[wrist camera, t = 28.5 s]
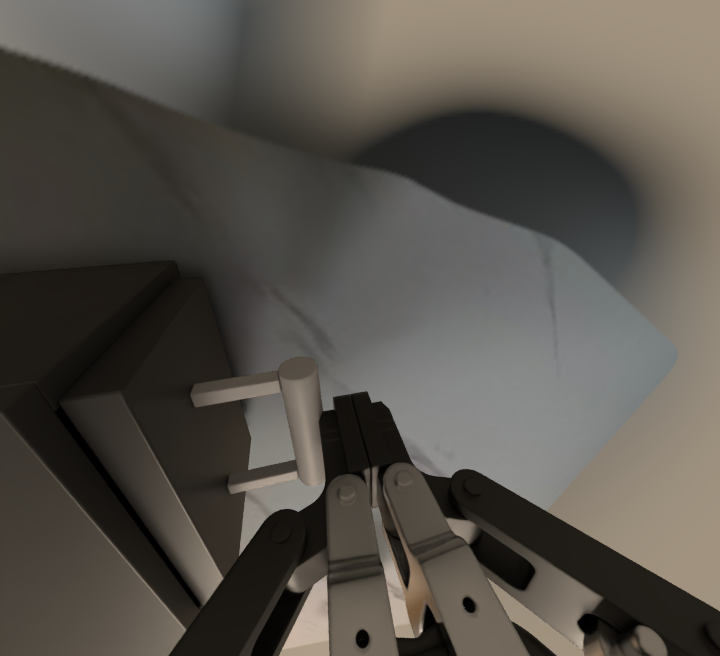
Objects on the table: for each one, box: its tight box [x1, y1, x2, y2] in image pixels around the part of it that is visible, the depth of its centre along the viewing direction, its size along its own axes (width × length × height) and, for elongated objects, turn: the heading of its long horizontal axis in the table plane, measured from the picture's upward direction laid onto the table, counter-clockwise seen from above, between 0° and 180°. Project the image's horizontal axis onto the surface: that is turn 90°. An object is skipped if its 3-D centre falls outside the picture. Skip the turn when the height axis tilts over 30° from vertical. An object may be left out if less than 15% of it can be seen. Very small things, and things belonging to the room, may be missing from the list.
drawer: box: [54, 277, 325, 606], centre depth 11 cm, size 17×10×8 cm, turn 91°
